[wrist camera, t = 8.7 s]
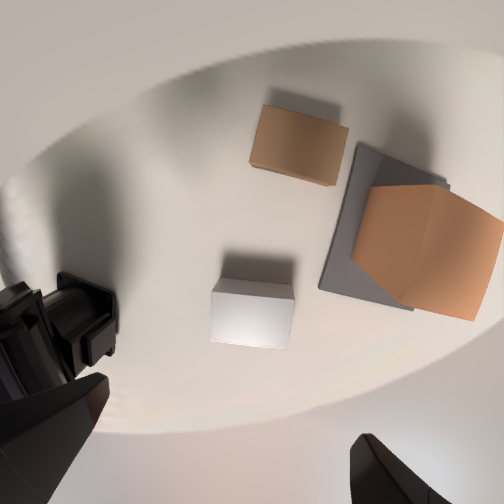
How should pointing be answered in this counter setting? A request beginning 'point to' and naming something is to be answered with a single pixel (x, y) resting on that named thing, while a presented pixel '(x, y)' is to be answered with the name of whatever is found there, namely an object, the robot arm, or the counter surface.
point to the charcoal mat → (338, 261)
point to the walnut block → (298, 146)
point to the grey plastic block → (251, 313)
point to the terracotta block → (428, 248)
